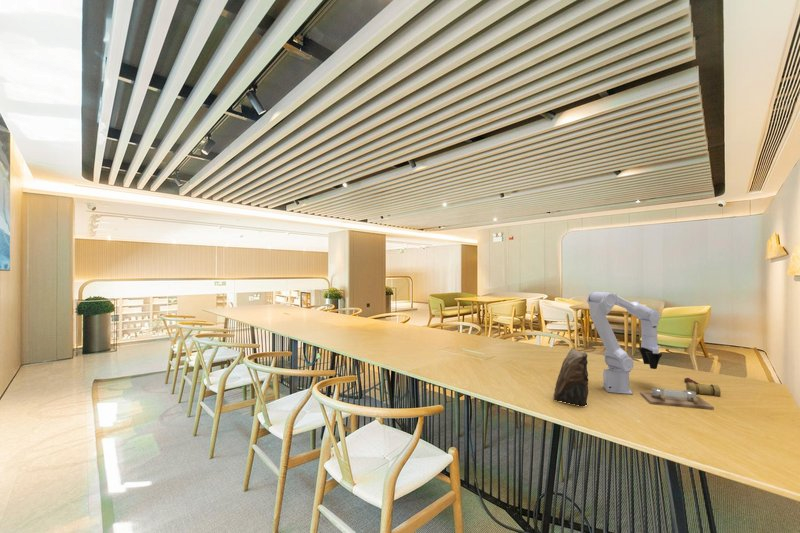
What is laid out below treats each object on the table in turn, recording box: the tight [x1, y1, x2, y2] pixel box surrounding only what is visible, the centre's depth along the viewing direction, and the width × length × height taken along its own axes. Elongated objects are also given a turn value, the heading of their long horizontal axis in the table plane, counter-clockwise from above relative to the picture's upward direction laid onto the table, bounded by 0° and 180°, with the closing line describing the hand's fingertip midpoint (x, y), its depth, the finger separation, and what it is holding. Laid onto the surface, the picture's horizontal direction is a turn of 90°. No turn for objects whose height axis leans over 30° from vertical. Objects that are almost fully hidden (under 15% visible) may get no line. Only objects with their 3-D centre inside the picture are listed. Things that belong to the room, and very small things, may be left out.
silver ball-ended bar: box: [651, 387, 697, 402], centre depth 135 cm, size 14×4×3 cm, turn 72°
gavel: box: [684, 377, 722, 397], centre depth 151 cm, size 21×5×10 cm
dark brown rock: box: [553, 347, 589, 407], centre depth 137 cm, size 13×13×20 cm
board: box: [639, 391, 715, 411], centre depth 135 cm, size 20×11×3 cm, turn 72°
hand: (650, 366), depth 151 cm, fingers open, 7 cm apart
